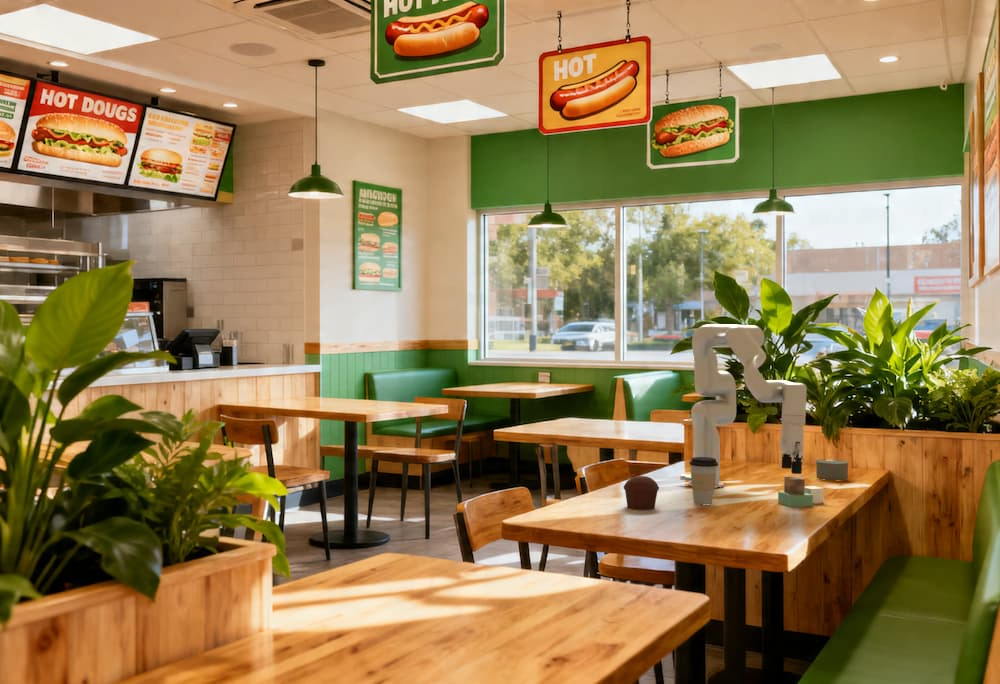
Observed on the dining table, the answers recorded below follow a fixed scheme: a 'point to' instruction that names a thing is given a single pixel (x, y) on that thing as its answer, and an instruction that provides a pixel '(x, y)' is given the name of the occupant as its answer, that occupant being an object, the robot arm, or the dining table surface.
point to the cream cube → (815, 493)
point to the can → (832, 469)
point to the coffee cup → (703, 479)
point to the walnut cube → (794, 485)
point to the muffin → (641, 493)
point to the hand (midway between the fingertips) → (791, 470)
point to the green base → (795, 499)
